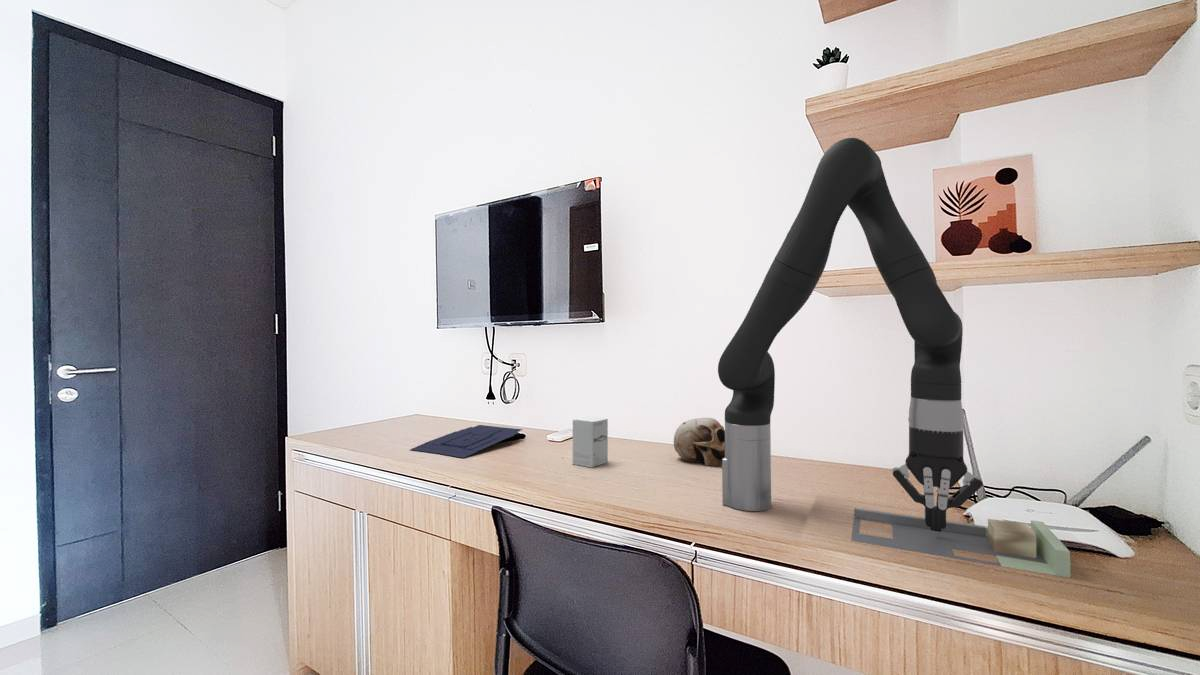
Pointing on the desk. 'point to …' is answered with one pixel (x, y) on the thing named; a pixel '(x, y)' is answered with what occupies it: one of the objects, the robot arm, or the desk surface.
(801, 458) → the desk surface
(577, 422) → the supplement box
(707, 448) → the human skull
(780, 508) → the desk surface
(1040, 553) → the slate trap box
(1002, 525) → the maple block
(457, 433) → the navy blue folder
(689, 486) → the desk surface
